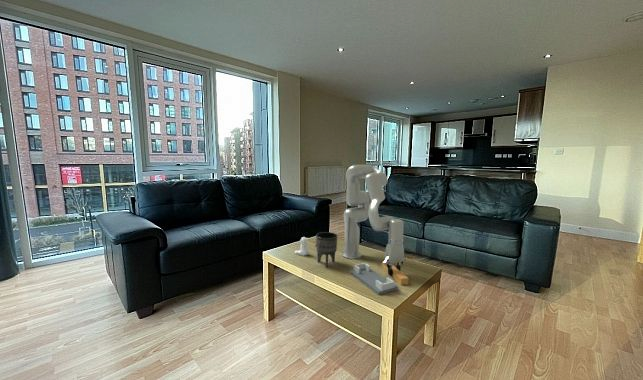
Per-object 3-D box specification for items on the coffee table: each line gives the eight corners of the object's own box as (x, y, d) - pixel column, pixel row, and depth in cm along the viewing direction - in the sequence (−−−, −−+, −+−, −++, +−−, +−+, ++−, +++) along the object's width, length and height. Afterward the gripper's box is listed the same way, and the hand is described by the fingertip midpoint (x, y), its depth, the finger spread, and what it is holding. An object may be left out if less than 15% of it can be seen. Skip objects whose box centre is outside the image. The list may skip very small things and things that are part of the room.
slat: (381, 267, 152) (381, 261, 151) (387, 266, 153) (388, 261, 152) (400, 285, 131) (401, 278, 130) (408, 284, 131) (408, 277, 131)
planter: (311, 265, 153) (311, 236, 151) (321, 257, 165) (322, 230, 163) (331, 269, 147) (331, 239, 145) (340, 261, 159) (341, 233, 157)
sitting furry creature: (305, 250, 177) (305, 233, 176) (313, 254, 171) (313, 236, 170) (293, 254, 171) (293, 236, 170) (301, 257, 165) (301, 239, 163)
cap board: (350, 273, 143) (350, 265, 142) (367, 269, 148) (368, 262, 148) (378, 294, 121) (378, 285, 120) (398, 289, 126) (398, 280, 125)
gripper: (402, 238, 146) (401, 268, 148) (378, 242, 139) (377, 274, 141) (412, 242, 140) (410, 274, 142) (387, 246, 132) (386, 280, 134)
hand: (394, 273), depth 141 cm, fingers closed on slat, 4 cm apart
